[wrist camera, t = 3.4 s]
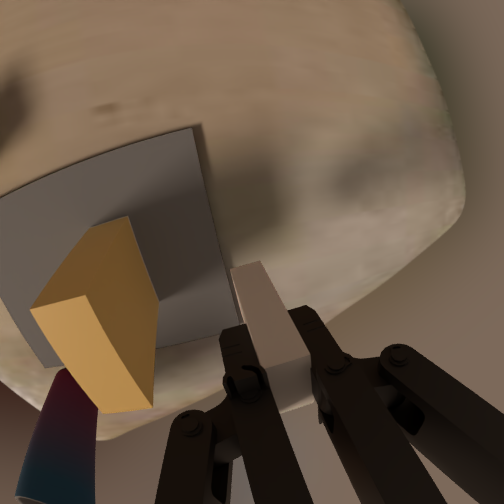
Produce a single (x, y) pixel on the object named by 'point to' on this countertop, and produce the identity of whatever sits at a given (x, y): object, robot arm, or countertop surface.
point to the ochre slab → (104, 318)
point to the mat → (144, 227)
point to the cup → (61, 448)
